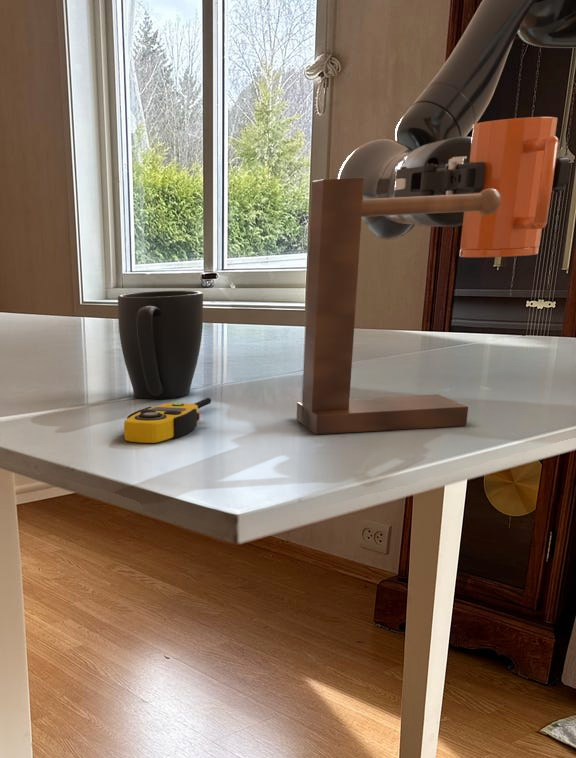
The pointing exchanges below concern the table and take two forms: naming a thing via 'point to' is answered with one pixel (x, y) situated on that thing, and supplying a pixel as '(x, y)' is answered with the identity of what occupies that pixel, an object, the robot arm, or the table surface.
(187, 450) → the table surface
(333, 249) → the stand
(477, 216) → the cup
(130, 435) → the yellow walkie talkie
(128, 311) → the mug
